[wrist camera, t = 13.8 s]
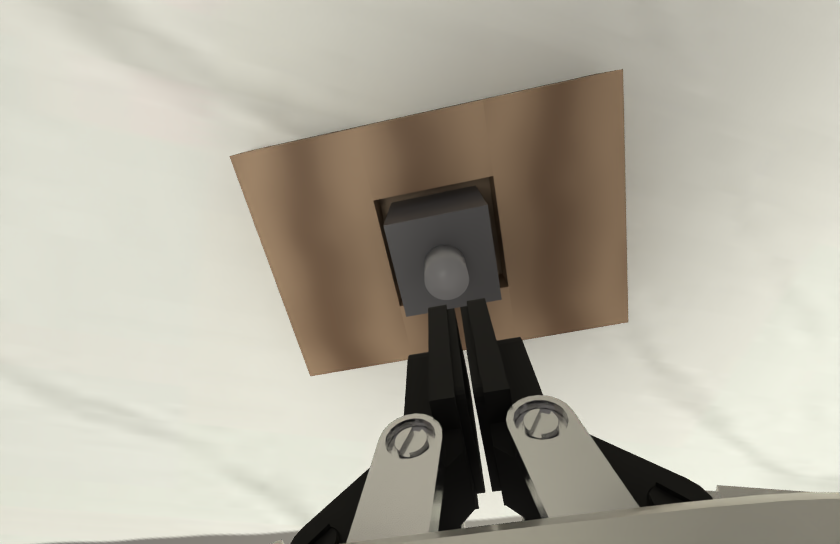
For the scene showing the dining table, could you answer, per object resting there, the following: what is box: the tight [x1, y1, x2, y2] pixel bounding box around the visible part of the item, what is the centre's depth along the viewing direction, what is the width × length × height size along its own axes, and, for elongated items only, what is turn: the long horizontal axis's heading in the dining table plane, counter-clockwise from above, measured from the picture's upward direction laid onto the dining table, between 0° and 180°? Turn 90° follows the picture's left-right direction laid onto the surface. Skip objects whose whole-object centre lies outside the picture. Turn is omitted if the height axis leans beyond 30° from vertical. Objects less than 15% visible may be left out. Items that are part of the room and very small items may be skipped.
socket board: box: [230, 69, 628, 376], centre depth 25 cm, size 20×14×3 cm
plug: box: [384, 185, 502, 317], centre depth 22 cm, size 5×5×7 cm
